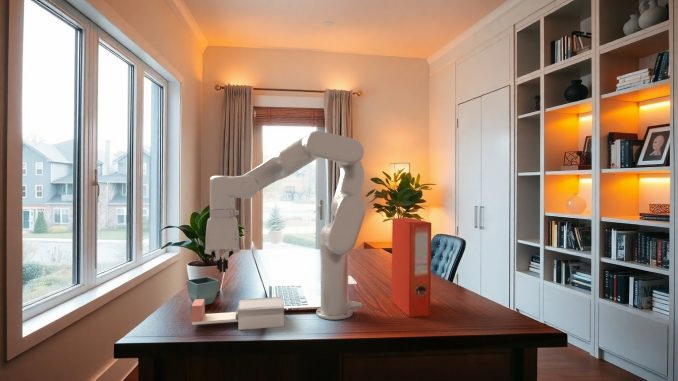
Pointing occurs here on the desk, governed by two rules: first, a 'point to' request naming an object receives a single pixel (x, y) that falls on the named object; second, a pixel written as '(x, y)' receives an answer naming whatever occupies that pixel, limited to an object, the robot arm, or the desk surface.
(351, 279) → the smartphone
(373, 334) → the desk surface
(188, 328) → the desk surface
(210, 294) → the flower pot
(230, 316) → the long cream plank
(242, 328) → the block
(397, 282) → the file binder
